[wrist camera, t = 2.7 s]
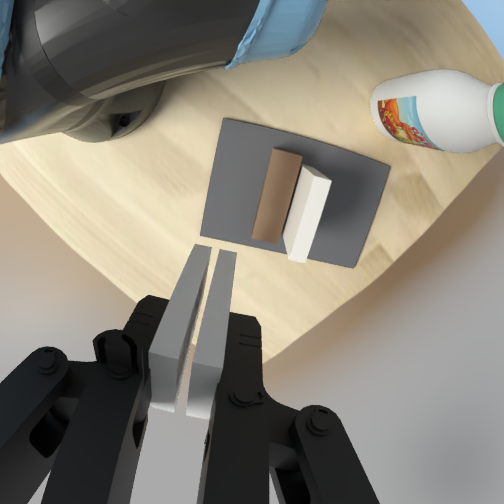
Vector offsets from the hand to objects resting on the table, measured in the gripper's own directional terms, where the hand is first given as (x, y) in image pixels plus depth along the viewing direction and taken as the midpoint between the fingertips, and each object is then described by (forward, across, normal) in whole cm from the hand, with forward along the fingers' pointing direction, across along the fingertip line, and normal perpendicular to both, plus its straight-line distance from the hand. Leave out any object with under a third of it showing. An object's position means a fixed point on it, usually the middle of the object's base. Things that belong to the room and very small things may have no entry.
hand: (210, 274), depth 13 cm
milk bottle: (+21, +16, +14) cm, 30 cm away
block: (+20, +4, 0) cm, 20 cm away
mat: (+20, +7, 0) cm, 22 cm away
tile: (+20, +7, 0) cm, 21 cm away
